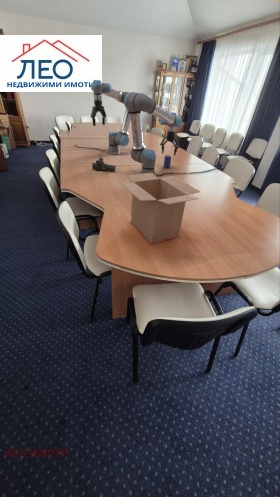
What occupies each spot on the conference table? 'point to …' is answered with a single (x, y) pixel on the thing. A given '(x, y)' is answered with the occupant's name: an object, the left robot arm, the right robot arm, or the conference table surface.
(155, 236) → the box
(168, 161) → the canister
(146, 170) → the right robot arm
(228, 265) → the conference table surface
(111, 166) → the laser sight
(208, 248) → the conference table surface
